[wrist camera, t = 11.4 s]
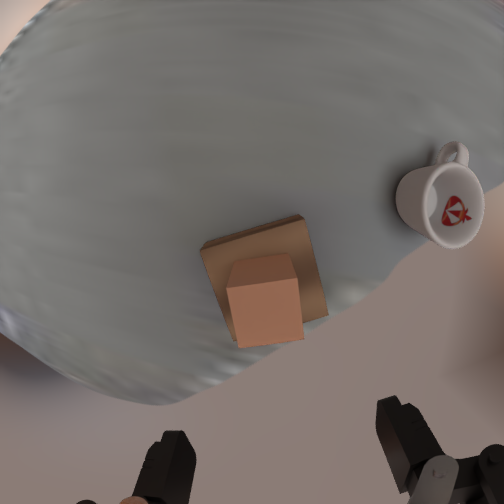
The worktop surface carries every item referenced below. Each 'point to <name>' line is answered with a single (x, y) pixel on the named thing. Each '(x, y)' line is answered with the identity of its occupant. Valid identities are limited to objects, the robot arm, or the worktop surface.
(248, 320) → the terracotta block
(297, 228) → the walnut block
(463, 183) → the cup
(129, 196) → the worktop surface
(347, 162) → the worktop surface
